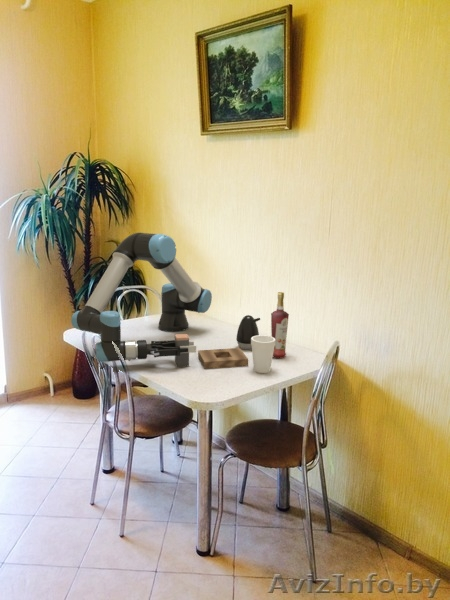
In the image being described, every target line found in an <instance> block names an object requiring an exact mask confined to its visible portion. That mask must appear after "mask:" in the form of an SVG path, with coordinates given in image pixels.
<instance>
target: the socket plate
mask: <svg viewBox="0 0 450 600" xmlns="http://www.w3.org/2000/svg"><path fill="white" fill-rule="evenodd" d="M197 352H198V353H197V355H198V356H197V357H198V360H199V362H200V363H201V365H202V367H203V369H204V370H211V369H213V370H214V369H224V368H226V369H227V368H228V369H229V368H238V367H239V368H240V367H241V368H243V367H249V358H248V357H247V355H246V354H245V353H244V352H243V351H242V348H241V347H235V348H234V347H233V348H231V347H230V348H219V349H215V348H214V349H202V350H201V349H200V350H199V349H198V351H197Z"/></svg>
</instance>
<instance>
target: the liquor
mask: <svg viewBox="0 0 450 600" xmlns="http://www.w3.org/2000/svg"><path fill="white" fill-rule="evenodd" d="M284 298H285V292H284V291H283V292H282V291H281V292H280V291H279V292H277V304H276V310H274V311H273V312H271V313H270V321H271V322H270V323H271V324H270V325H271V326H270V327H271V330H270V331H271V337H273V338H275V346H274V352H273V357H272V358H275V359H283V358H285V356H287V352H286V348H287V334H288V328H289V327H288V326H289V315H290V314H289V313H288V312H287V311H285V310H284V309H285V308H284V307H285V306H284Z"/></svg>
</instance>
